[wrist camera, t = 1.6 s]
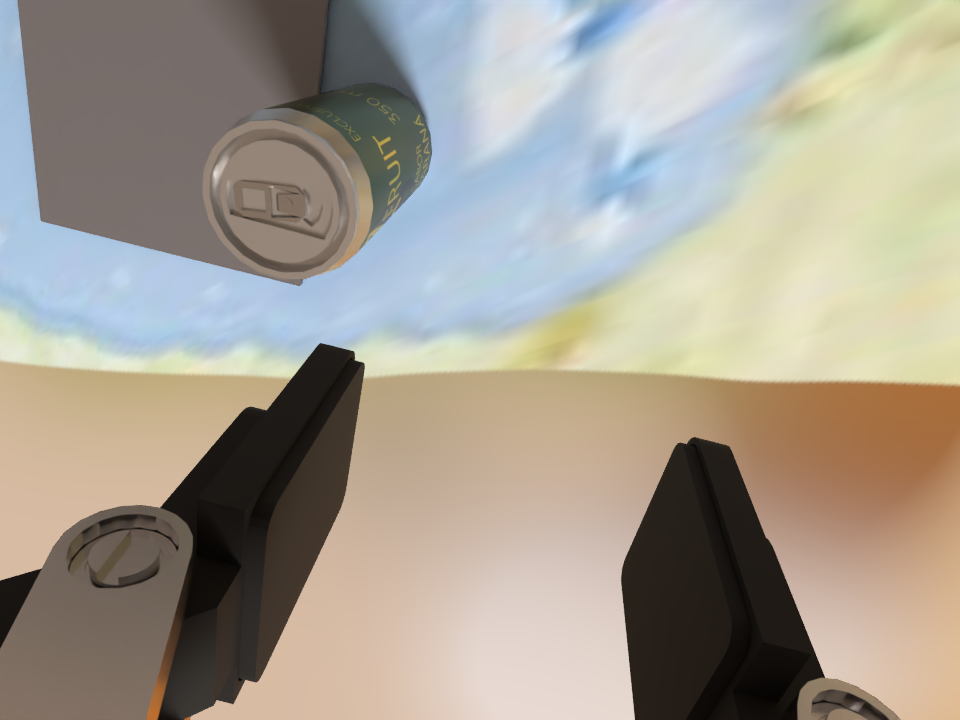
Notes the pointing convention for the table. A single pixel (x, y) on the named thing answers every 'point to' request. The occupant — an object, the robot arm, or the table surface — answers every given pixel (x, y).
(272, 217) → the green soda can
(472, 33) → the table surface
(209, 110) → the mat
